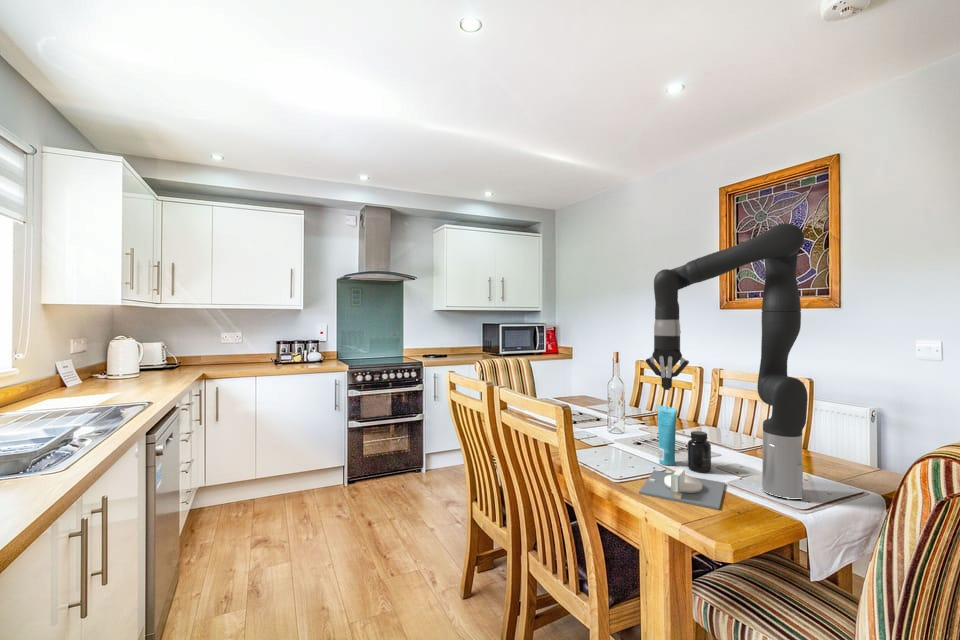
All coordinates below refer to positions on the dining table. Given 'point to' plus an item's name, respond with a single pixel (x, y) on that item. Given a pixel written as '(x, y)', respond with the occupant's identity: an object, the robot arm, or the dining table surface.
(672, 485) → the dial
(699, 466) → the supplement bottle
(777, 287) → the robot arm
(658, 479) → the dial board
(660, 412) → the tube
